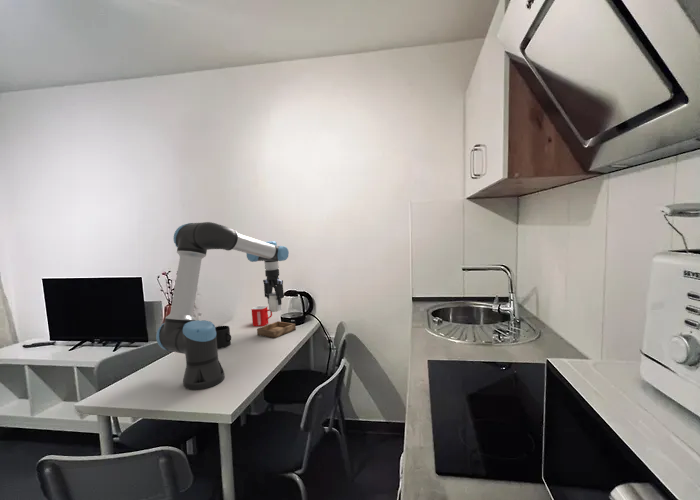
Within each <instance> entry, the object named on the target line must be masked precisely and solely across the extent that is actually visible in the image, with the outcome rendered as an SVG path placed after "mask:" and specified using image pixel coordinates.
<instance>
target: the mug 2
mask: <svg viewBox="0 0 700 500" xmlns="http://www.w3.org/2000/svg"><path fill="white" fill-rule="evenodd" d="M268 308H269V305H256V306H254V307H252V308H251V309H250V310H251V318H252V319H251V320H252V326H253V327H263V326H266V325H269V319H271V318H272V316H273V312H271V311H270V310H269V309H268ZM269 312H270V313H269ZM269 314H270V315H269Z"/></svg>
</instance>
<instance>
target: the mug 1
mask: <svg viewBox="0 0 700 500" xmlns="http://www.w3.org/2000/svg"><path fill="white" fill-rule="evenodd" d="M215 329H216V336H217V349H222V348H227V347H229V346H230V345H231V344H232V343H231V341H232V335H231V330H230V326H229V325H218V326H215Z"/></svg>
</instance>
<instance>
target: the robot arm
mask: <svg viewBox="0 0 700 500" xmlns="http://www.w3.org/2000/svg"><path fill="white" fill-rule="evenodd" d="M173 243H174V244H175V247H176V248H177V249H176V253H177V254H178V255H179V261H178V266H177V271H176V277H175V278H176V279H175V283H174V290H173V293H172V301H171V306H170V307H171V309H170V313H169V314H168V315H167V316H165V318H164V322H163V323H162V324H161V325H160V326H159V327H158V329H157V331H156V336H155V339H156V342H157V344H158V346H159V347H160V348H161V349H162V350H164V351H168V352H170V353H178V354H183V355H185V364H186V367H185V370H184V374H183V378H182V385H183V388H185V390H190V391H191V390H192V391H198V390H199V391H200V390H205V389H208V388H209V389H210V388H211V387H214V386H217V385H219V384H220V383H222V382H223V381H224V380H225V370H224V369H223V367H222V363H221V362H220V360H219V351H218V350H219V349H218V348H217V336H216V329H215V327H216V326H215V323H213V322H212V321H209V320H207V319H206V320H201V319H199V320H198V319H196V317H194V310H195V305H196V297H197V291H198V284H199V277H200V271H201V265H202V259H204V258H206V256H207V252H208V250H223V251H228V252H229V251H232V250H233V251H237V252H241V253H245V254H246V259H247V260H248V261H249V262H252V263H254V262H264V269H265V270H264V272H265V277H266V279H263V280H262V283H263V289H264V290H263V291H264V292H263V293H264V298H266V299H267V304H268V310H270V301H269V293H273V289H274V292H275V293H276V297H277V299H276V305H277V312H280V311H282V304H283V303H282V299H283V298H285V293H284V280H282V279H280V278H279V276H280V270H279V268H280V267H279V266H280V265H279V262H284V261H286V260H287V259H288V258H289V249H288V247H287V246H286V245H278V244H277V242H276V241H274V240H273V241H272V240H271V241H270V240H269V241H263V240H260V239H256V238H254V237H250V236H248V235H244V234H241V233H238V231H237V230H236V229H233V228H231V227H228V226H226V225H222V224H220V223H217V222H216V223H215V222H211V221H205V222H188V223H185V224H182V225H180V226H178V227H177V228H176V230H175V232H174V234H173Z"/></svg>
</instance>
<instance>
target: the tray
mask: <svg viewBox="0 0 700 500" xmlns="http://www.w3.org/2000/svg"><path fill="white" fill-rule="evenodd" d="M296 329H297V326H296V323H292V322H284V321H275V322H272V323H268V324H266V325H265V326H260V327H258V328H256V334H257V336H260V335H261V337H265V336H266V337H265V338H272V339H277V338H279V337H282V336H285V335H287V334H289V333H292V332H294V331H296Z"/></svg>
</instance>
